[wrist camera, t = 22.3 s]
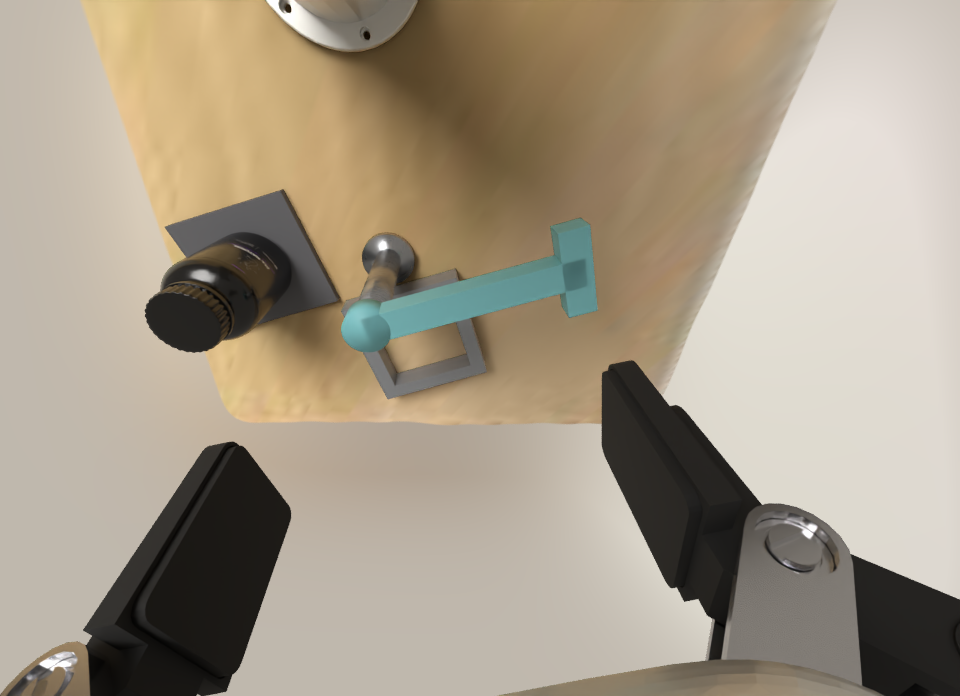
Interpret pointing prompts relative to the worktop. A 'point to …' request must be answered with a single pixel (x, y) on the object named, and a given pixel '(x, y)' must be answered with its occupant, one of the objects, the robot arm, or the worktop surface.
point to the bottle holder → (431, 373)
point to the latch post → (386, 265)
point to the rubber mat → (279, 226)
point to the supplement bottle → (219, 292)
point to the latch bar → (483, 293)
